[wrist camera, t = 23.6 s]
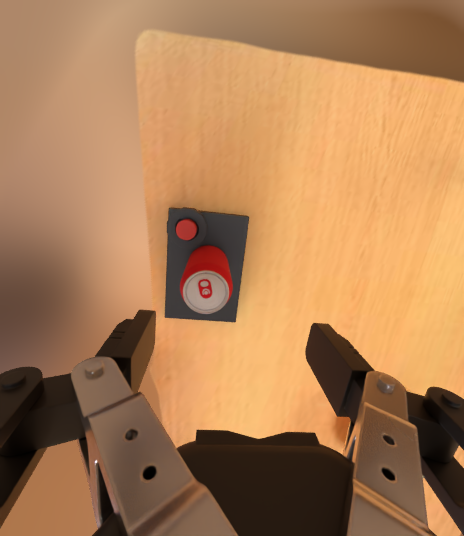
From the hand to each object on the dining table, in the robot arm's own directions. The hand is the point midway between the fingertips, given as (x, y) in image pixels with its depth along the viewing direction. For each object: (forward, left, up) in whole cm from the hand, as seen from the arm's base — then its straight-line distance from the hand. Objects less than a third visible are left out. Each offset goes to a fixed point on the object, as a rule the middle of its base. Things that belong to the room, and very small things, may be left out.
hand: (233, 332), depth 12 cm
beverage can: (+1, -4, -27) cm, 27 cm away
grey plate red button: (+2, -5, -28) cm, 29 cm away
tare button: (-5, -2, -25) cm, 26 cm away
